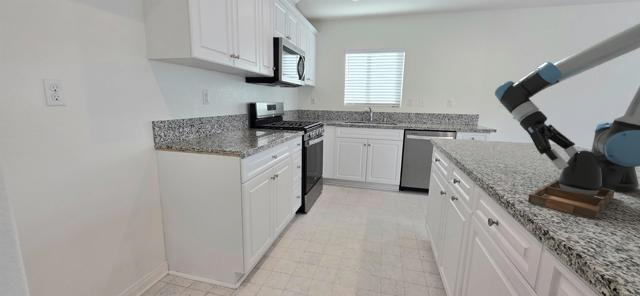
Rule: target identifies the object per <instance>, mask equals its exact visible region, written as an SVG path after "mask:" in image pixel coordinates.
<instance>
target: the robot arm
mask: <svg viewBox="0 0 640 296" xmlns="http://www.w3.org/2000/svg"><path fill="white" fill-rule="evenodd" d="M637 49H640V22H639V23H636V24H634V25H633V26H630V27H628V28H626V29H624V30H622V31H619V32H618V33H616V34H614V35H611V36H609V37H607V38H605V39H603V40H601V41H599V42H596V43H594V44H593V45H590V46H588V47H586V48H584V49H582V50H580V51H577V52H575V53H574V54H573V53H572V54H571V55H569V56H567V57H565V58H562V59H561V60H558V61H557V62H554V63H552V62H551V61H546V62H544V63H543V64H541V65H539V66H537V68H535V69H534V70H532V71H530V73H528V74H527V75H525V76H524V77H523V78H521V79H520V80H518V81H516V82H514V81H512V80H509V81H505V82H504V83H502V84H500V85H499V86H498V87H497V88H495V91H494V95H495V97H496V99H498V101H499V103H500V104H501V105H502V106H503V107H504V108H505V109H506V110H507V112H508V113H509V114H510V115H511V116H513V117H512V119H513V120H516V121H517V122H518V123H519V125H520V126H521V127H522V129H523V130H524V131H526V132H527V134H528V135H529V137H530V138H531V140H532V142H533V144H534V146H535V147H536V150H537V151H538V152H539V155H544V154H545V156H546V157H547V158H548V159H549V160H550V161H551V162H552V164H553V165H554V166H555V167H556V168H557V169H558V170H559V171H562V170H563V169H564V168H566V167H568V166H569V165H568V164H567V161H565V159H564V158H563V157H562V156H561V155H560V154H559V153H558V152H557V150H555V149H556V148H552V146H551V143H550V141H551V142H552V143H554V144H556V145H557V146H559V147H560V148H562V149H563V151H564V152H565V153H566V154H567V156H569V159H570V158H571V156H572V155H574V154H575V153H576V152H578V151H579V150H577V149H576V147H574V146H575V145H576V142H574V141H572V140H571V139H570V138H568V137H566V136H565V135H564V134H563V133H561V132H560V131H559V130H558V129H556V128H555V127H554V125H552V124H548V125H547V124H546V122H547V120H548V117H547V116H546V114H544V112H542V111H541V110H540V108H539V107H538V106H537V105H536V104H535V103H534V102H533V101H532V100H531V98H532V97H534V96H535V95H536V94H538V93H540V92H542V91H544V90H545V89H548V88H550V87H552V86H555V85H557V84H560V83H561V82H563V81H565V80H567V79H571V78H572V77H575V76H578V75H580V74H582V73H585V72H586V71H589V70H591V69H593V68H596V67H598V66H601V65H602V64H605V63H607V62H610V61H612V60H614V59H617V58H619V57H621V56H624V55H625V54H628V53H630V52H633V51H636V50H637ZM549 140H550V141H549ZM590 152H592V153H594V154H595V155H599V154H605V157H603V158H600V159H598V161H599V164H600V167H601V172H602V188H605V189H610V190H615V191H616V192H617V191H619V192H637V191H638V190H639V185H640V183H639V180H638V176H637V171H636V167H640V85H639V87H638V88H637V90H636V93H635V94H634V96H633V98H632V100H631V102H630V103H629V105H628V107H627V109H626V111H625V113H624V115H622V116H620V117H617V118H614V120H613V122H601V123H598V124H597V125H596V127H595V130H594V137H593V142H592V147H591V150H590Z"/></svg>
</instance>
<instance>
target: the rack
mask: <svg viewBox="0 0 640 296" xmlns="http://www.w3.org/2000/svg"><path fill="white" fill-rule="evenodd" d="M558 181H559V178H558V179H557V178H556V179H554V180H552V181H551V182H549V183H547V184H546V185H545V184H544V186H542V187H539V188H538V189H536V190H534V191H533V192H531V193H529V195H528V198H527V199H528V200H527V203H530V204H532V205H533V204H534V205H537V206H541V207H546V208H548V209H552V210H556V211H561V212H565V213H568V214H570V215H574V216H575V215H576V216H579V217H582V218H587V219H591V220H594V221H595V220H596V219H597V218H598V217H599V216H600V214H601V213H602V212H603V211H604V209H605V208H606V207H607V206H608V205H609V203H611V201H612V200H613V199H614V196H615V191H616V190H610V189H605V188H601V190H599V192H598V193H597V194H596V195H595V196H589V195H584V194H580V193H575V192H571V191H566V190H561V188H560V183H559V182H558ZM597 196H599V197H597ZM601 197H602V198H601Z"/></svg>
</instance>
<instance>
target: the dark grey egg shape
mask: <svg viewBox="0 0 640 296" xmlns="http://www.w3.org/2000/svg"><path fill="white" fill-rule="evenodd" d="M577 151H578V152H576V153H575V154H574V155H572V156H571V158H570V157H569V159H568V160H567V161H566V163H567V164H568V165H569V166H568V167H566V168H564V169H562V170H561V172H560V174H559V178H558V180H559V181H558V182H559V183H560V187H559V189H561V190H566V191H571V192H575V193H580V194H584V195H589V196H594V197H596V196H597V195H596V194H597V193H598V192H599V190H601V188H602V172H601V167H600V164H599V161H598V159H600V158H603V157H605V154H599V155H595V154H594V153H592V152H591V150H584V149H583V150H577Z"/></svg>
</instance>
